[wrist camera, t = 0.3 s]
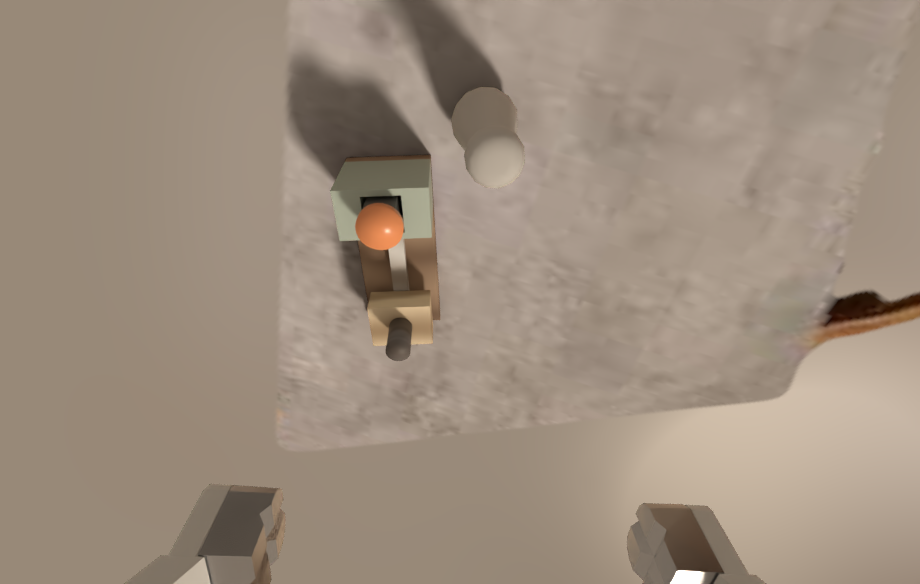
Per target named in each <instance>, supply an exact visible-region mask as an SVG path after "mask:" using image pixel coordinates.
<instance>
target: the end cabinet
mask: <svg viewBox="0 0 920 584" xmlns="http://www.w3.org/2000/svg"><path fill="white" fill-rule="evenodd" d="M330 193H331V198H332V203H333V208H334V214H335V219H336V224H337V230H338V235H339V240H340V241H356V240H360V239H359V238H358V236H357V234H356V230H355V224H356V220H357V217H358V215H359V213H360V211H361V210H362V209H363V206H364V203H365V200H366V197H371V196H399V195H401V200H400V208H401V216H402V218H403V221H404V230H403V236H402V238H401V239H411V238H432V221H433V194H432V178H431V161H430V159H414V160H385V161H356V162H344V164H343V166H342V168H341V170H340V172H339V174H338V176H337V178H336V180H335V182H334V184H333V186H332V188H331V190H330Z"/></svg>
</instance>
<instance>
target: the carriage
mask: <svg viewBox="0 0 920 584" xmlns="http://www.w3.org/2000/svg"><path fill="white" fill-rule="evenodd" d="M367 310H368V316H369V322H370V328H371V334H372V340H373V346H383V345H387V346H386V355H387V356H388V357H389V358H390V359H392V360H395V361H402V360H405V359H407V358H408V357H409V355H410V349H411V344H433V319H432V305H431V291H430V290H415V291H389V292H371V294H370V299H369V303H368V308H367Z"/></svg>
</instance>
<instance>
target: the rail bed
mask: <svg viewBox="0 0 920 584" xmlns="http://www.w3.org/2000/svg"><path fill="white" fill-rule="evenodd" d="M414 159H430V161H431V155H409V156H380V157H351V158H346V160H345V162H356V161H385V160H414ZM431 178H432V170H431ZM432 194H433V186H432ZM399 198H400V200H401V195H399ZM358 246H359V252H360V258H361V264H362V270H363V276H364V282H365V288H366V294H367V300H368V303H369V299H370V294H371V292H389V291H415V290H430V291H431V305H432V319H433V320H440V302H439V286H438V269H437V253H436V236H435V219H434V203H433V221H432V238H411V239H401V240H400V242H399V243H398V244H397V245H396V246H394V247H392V248H390V249H386V250H376V249H372V248H370V247H368V246H366V245H365V244H363V243H362V242H361V241H360V240H358Z"/></svg>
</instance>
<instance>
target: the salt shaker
mask: <svg viewBox="0 0 920 584" xmlns="http://www.w3.org/2000/svg"><path fill="white" fill-rule="evenodd" d="M451 122H452V128H453V133H454V136H455V138H456V139H457V141H458V142H459V144H460V145H461V147H462V148H463V149H464V150H465V154H464V157H465V163H466V169H467V171H468V172H469V174H470V175H471V176H472V178H473V179H474V181H475V182H476V183H478V184H480V185H482V186H484V187H486V188H498V189H499V188H501V187H504V186H506V185H509V184H511V183H512V182H513V181H514V180H515V179H516V178H517V177H518V176H519V175H520V174H521V171H522V168H523V166H524V163H525V155H524V146H523V144H522V143H521V141H520V139H519V138H518V136H517V135H516V131H517V126H518V120H517V109H516V107H515V106H514V104H513V102H512V101H511V99H510V97H509V96H508V95H506V94H505V93H503V92H501V91H500V90H498V89H497V88H492V87H479V88H476V89H474V90H471V91H469V92H466V93H465V95H464V96H463V97H462V98H461V99H460V101H459V102H458V103H457V104H456V106H455V109H454V112H453V115H452V119H451Z"/></svg>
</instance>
